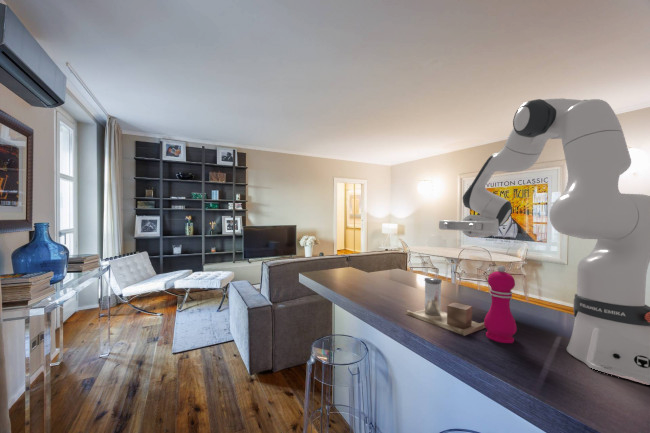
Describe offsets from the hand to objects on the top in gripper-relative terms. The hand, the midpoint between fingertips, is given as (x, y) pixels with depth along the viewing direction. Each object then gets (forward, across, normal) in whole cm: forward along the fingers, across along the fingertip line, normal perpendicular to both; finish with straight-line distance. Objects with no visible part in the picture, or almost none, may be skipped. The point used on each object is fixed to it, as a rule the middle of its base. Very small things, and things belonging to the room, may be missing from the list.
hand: (457, 225), depth 100 cm
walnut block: (+21, +11, +29) cm, 37 cm away
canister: (+16, 0, +29) cm, 33 cm away
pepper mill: (+19, +20, +30) cm, 41 cm away
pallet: (+18, +5, +30) cm, 35 cm away
